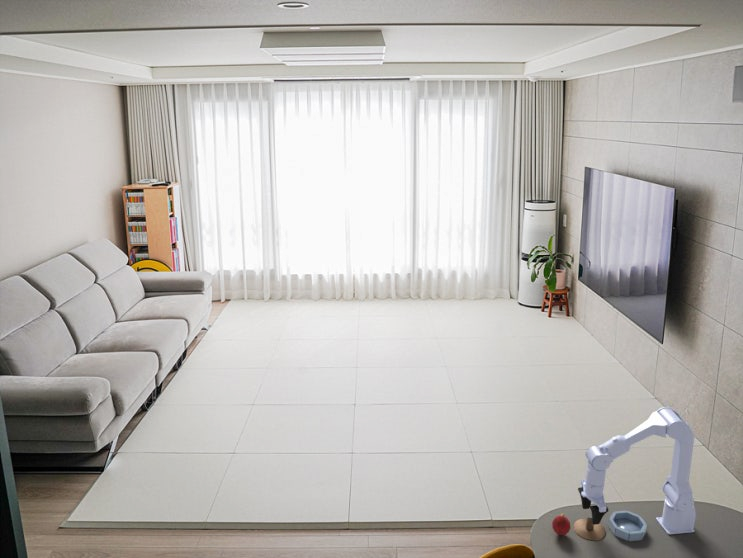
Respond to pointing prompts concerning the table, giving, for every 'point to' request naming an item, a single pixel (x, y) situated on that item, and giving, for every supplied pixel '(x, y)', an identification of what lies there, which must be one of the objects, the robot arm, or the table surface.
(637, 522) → the bowl
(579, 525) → the lid
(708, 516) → the table surface
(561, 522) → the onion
